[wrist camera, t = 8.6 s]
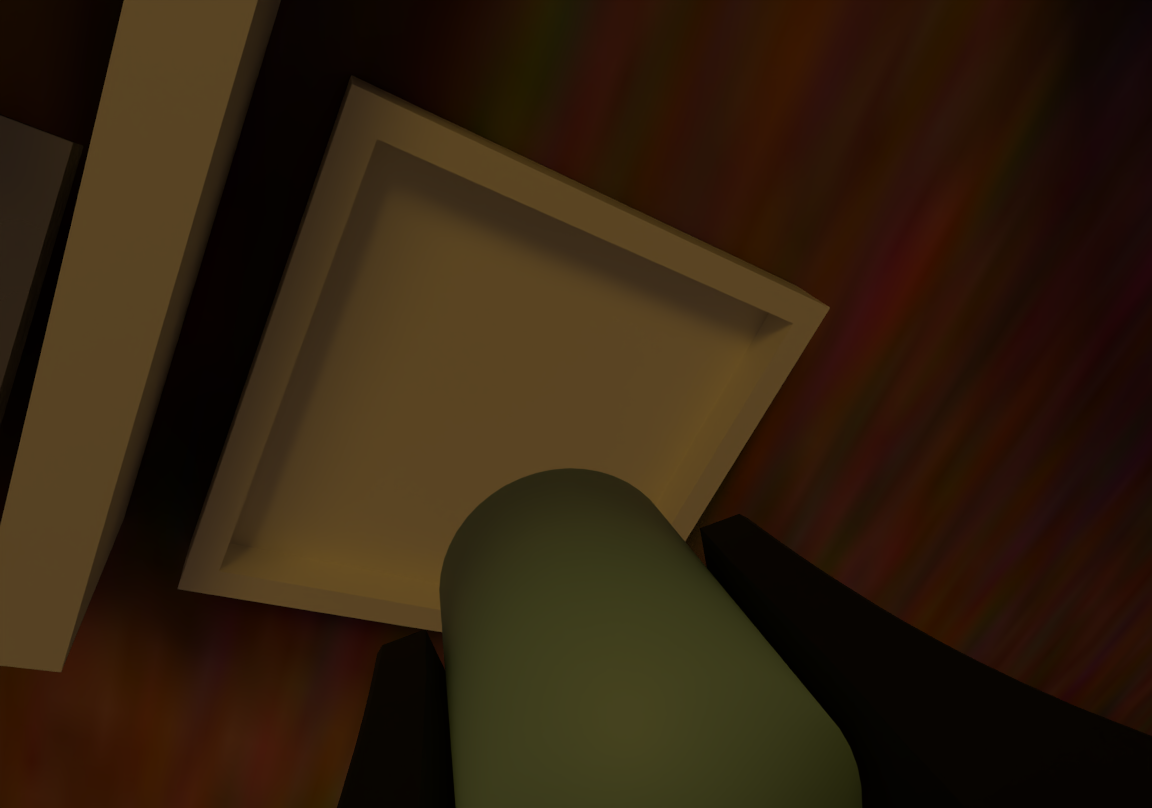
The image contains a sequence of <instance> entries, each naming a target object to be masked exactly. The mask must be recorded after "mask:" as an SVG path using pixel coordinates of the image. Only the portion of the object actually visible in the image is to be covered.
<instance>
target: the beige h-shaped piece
mask: <svg viewBox="0 0 1152 808" xmlns="http://www.w3.org/2000/svg"><path fill="white" fill-rule="evenodd" d="M280 2H281V0H124V2H123V6H122V11H121V15H120V19H119V23H118V28H117V32H116V36H115V40H114V45H113V49H112V53H111V57H110V61H109V66H108V70H107V74H106V78H105V83H104V87H103V91H102V95H101V100H100V104H99V108H98V112H97V117H96V121H95V125H94V129H93V134H92V138H91V142H90V146H89V151H88V155H87V159H86V163H85V168H84V172H83V176H82V180H81V185H80V189H79V193H78V197H77V202H76V206H75V210H74V214H73V219H72V223H71V227H70V231H69V236H68V240H67V244H66V248H65V253H64V257H63V261H62V265H61V270H60V274H59V278H58V282H57V287H56V291H55V295H54V299H53V304H52V308H51V312H50V316H49V321H48V325H47V329H46V333H45V338H44V342H43V346H42V350H41V355H40V359H39V363H38V367H37V372H36V376H35V380H34V384H33V389H32V393H31V397H30V401H29V406H28V410H27V414H26V418H25V423H24V427H23V431H22V435H21V440H20V444H19V448H18V452H17V457H16V461H15V465H14V469H13V474H12V478H11V482H10V486H9V491H8V495H7V499H6V503H5V508H4V512H3V516H2V520H1V525H0V665H1V666H10V667H19V668H28V669H37V670H46V671H54V672H61V671H62V669H63V666H64V664H65V661H66V659H67V656H68V654H69V652H70V649H71V647H72V644H73V642H74V639H75V637H76V634H77V632H78V630H79V627H80V625H81V622H82V620H83V617H84V615H85V613H86V610H87V608H88V605H89V603H90V600H91V598H92V596H93V593H94V591H95V588H96V586H97V583H98V581H99V578H100V576H101V574H102V571H103V569H104V566H105V564H106V561H107V559H108V557H109V554H110V552H111V549H112V547H113V544H114V542H115V540H116V537H117V535H118V532H119V530H120V527H121V525H122V522H123V520H124V517H125V514H126V510H127V507H128V504H129V501H130V497H131V494H132V491H133V487H134V484H135V481H136V477H137V474H138V471H139V468H140V464H141V461H142V458H143V454H144V451H145V448H146V444H147V441H148V438H149V434H150V431H151V428H152V425H153V421H154V418H155V415H156V411H157V408H158V405H159V401H160V398H161V395H162V392H163V388H164V385H165V382H166V378H167V375H168V372H169V368H170V365H171V362H172V359H173V355H174V352H175V349H176V345H177V342H178V339H179V335H180V332H181V329H182V326H183V322H184V319H185V316H186V312H187V309H188V306H189V302H190V299H191V296H192V292H193V289H194V286H195V283H196V279H197V276H198V273H199V269H200V266H201V263H202V259H203V256H204V253H205V250H206V246H207V243H208V240H209V236H210V233H211V230H212V226H213V223H214V220H215V217H216V213H217V210H218V207H219V203H220V200H221V197H222V193H223V190H224V187H225V184H226V180H227V177H228V174H229V170H230V167H231V164H232V160H233V157H234V154H235V150H236V147H237V144H238V141H239V137H240V134H241V131H242V127H243V124H244V121H245V117H246V114H247V111H248V108H249V104H250V101H251V98H252V94H253V91H254V88H255V84H256V81H257V78H258V75H259V71H260V68H261V65H262V61H263V58H264V55H265V51H266V48H267V45H268V42H269V38H270V35H271V32H272V28H273V25H274V22H275V18H276V15H277V12H278V8H279V5H280Z"/></svg>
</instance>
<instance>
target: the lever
mask: <svg viewBox="0 0 1152 808" xmlns="http://www.w3.org/2000/svg"><path fill="white" fill-rule="evenodd" d="M83 147H84V146H83V145H80V144H78V143H75V142H72V141H70V140H67V139H64V138H62V137H59V136H56V135H54V134H51V133H48V132H46V131H43V130H40V129H38V128H35V127H32V126H30V125H27V124H24V123H22V122H19V121H16V120H14V119H11V118H8V117H6V116H3V115H0V426H1V423H2V420H3V416H4V413H5V410H6V406H7V403H8V399H9V396H10V393H11V389H12V386H13V383H14V379H15V376H16V373H17V369H18V366H19V362H20V359H21V356H22V352H23V349H24V346H25V342H26V339H27V335H28V332H29V329H30V325H31V322H32V319H33V315H34V312H35V309H36V305H37V302H38V298H39V295H40V292H41V288H42V285H43V282H44V278H45V275H46V271H47V268H48V265H49V261H50V258H51V255H52V251H53V248H54V245H55V241H56V238H57V234H58V231H59V228H60V224H61V221H62V218H63V214H64V211H65V207H66V204H67V201H68V197H69V194H70V191H71V187H72V184H73V181H74V177H75V174H76V170H77V167H78V164H79V160H80V157H81V154H82V150H83Z"/></svg>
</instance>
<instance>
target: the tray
mask: <svg viewBox="0 0 1152 808" xmlns="http://www.w3.org/2000/svg"><path fill="white" fill-rule="evenodd" d="M829 309H830V307H828V306H827V305H825V304H824V303H822V302H821V301H819V300H817V299H816V298H814V297H813V296H811V295H810V294H808V293H807V292H805V291H804V290H802V289H801V288H799V287H798V286H796V285H794V284H792V283H790V282H788V281H786V280H783V279H781V278H779V277H777V276H775V275H773V274H771V273H769V272H767V271H764V270H762V269H760V268H758V267H756V266H754V265H752V264H750V263H748V262H745V261H743V260H741V259H739V258H737V257H735V256H733V255H731V254H729V253H726V252H724V251H722V250H720V249H718V248H716V247H714V246H712V245H710V244H707V243H705V242H703V241H701V240H699V239H697V238H695V237H693V236H691V235H688V234H686V233H684V232H682V231H680V230H678V229H676V228H674V227H672V226H669V225H667V224H665V223H663V222H661V221H659V220H657V219H655V218H653V217H650V216H648V215H646V214H644V213H642V212H640V211H638V210H636V209H634V208H631V207H629V206H627V205H625V204H623V203H621V202H619V201H617V200H614V199H612V198H610V197H608V196H606V195H604V194H602V193H600V192H598V191H595V190H593V189H591V188H589V187H587V186H585V185H583V184H581V183H579V182H576V181H574V180H572V179H570V178H568V177H566V176H564V175H562V174H560V173H557V172H555V171H553V170H551V169H549V168H547V167H545V166H543V165H541V164H538V163H536V162H534V161H532V160H530V159H528V158H526V157H524V156H522V155H519V154H517V153H515V152H513V151H511V150H509V149H507V148H505V147H503V146H500V145H498V144H496V143H494V142H492V141H490V140H488V139H486V138H484V137H481V136H479V135H477V134H475V133H473V132H471V131H469V130H467V129H465V128H462V127H460V126H458V125H456V124H454V123H452V122H450V121H448V120H446V119H443V118H441V117H439V116H437V115H435V114H433V113H431V112H429V111H426V110H424V109H422V108H420V107H418V106H416V105H414V104H412V103H410V102H407V101H405V100H403V99H401V98H399V97H397V96H395V95H393V94H391V93H388V92H386V91H384V90H382V89H380V88H378V87H376V86H374V85H372V84H369V83H367V82H365V81H363V80H361V79H359V78H357V77H355V76H353V75H351V76H350V79H349V82H348V85H347V88H346V91H345V94H344V97H343V100H342V103H341V106H340V108H339V111H338V114H337V117H336V120H335V123H334V126H333V129H332V132H331V135H330V138H329V140H328V143H327V146H326V149H325V152H324V155H323V158H322V161H321V164H320V167H319V170H318V172H317V175H316V178H315V181H314V184H313V187H312V190H311V193H310V196H309V199H308V202H307V204H306V207H305V210H304V213H303V216H302V219H301V222H300V225H299V228H298V231H297V234H296V236H295V239H294V242H293V245H292V248H291V251H290V254H289V257H288V260H287V263H286V265H285V268H284V271H283V274H282V277H281V280H280V283H279V286H278V289H277V292H276V295H275V297H274V300H273V303H272V306H271V309H270V312H269V315H268V318H267V321H266V324H265V327H264V329H263V332H262V335H261V338H260V341H259V344H258V347H257V350H256V353H255V356H254V359H253V361H252V364H251V367H250V370H249V373H248V376H247V379H246V382H245V385H244V388H243V391H242V393H241V396H240V399H239V402H238V405H237V408H236V411H235V414H234V417H233V420H232V423H231V425H230V428H229V431H228V434H227V437H226V440H225V443H224V446H223V449H222V452H221V455H220V457H219V460H218V463H217V466H216V469H215V472H214V475H213V478H212V481H211V484H210V486H209V489H208V492H207V495H206V498H205V501H204V504H203V507H202V510H201V513H200V516H199V518H198V521H197V524H196V527H195V530H194V533H193V536H192V539H191V542H190V545H189V548H188V552H187V556H186V559H185V563H184V567H183V570H182V574H181V578H180V581H179V585H178V589H180V590H186V591H193V592H199V593H205V594H211V595H217V596H223V597H229V598H235V599H242V600H248V601H254V602H260V603H266V604H272V605H278V606H284V607H291V608H297V609H303V610H309V611H315V612H321V613H327V614H334V615H340V616H346V617H352V618H358V619H364V620H370V621H376V622H383V623H389V624H395V625H401V626H407V627H413V628H419V629H426V630H432V631H438V632H442V622H441V609H440V594H439V587H440V575H441V570H442V566H443V561H444V558H445V555H446V553H447V550H448V548H449V545H450V543H451V541H452V539H453V538H454V536H455V534H456V532H457V530H458V529H459V528H460V526H461V525H462V523H463V522H464V521H465V519H466V518H467V517H468V516H469V515H470V514H471V512H472V511H473V510H474V509H475V508H476V507H477V506H478V505H479V504H480V503H482V502H483V501H484V500H485V499H486V498H488V497H489V496H490V495H491V494H493V493H494V492H496V491H498V490H499V489H501V488H502V487H504V486H505V485H507V484H510V483H512V482H514V481H516V480H518V479H520V478H523V477H526V476H528V475H531V474H534V473H538V472H543V471H548V470H553V469H565V468H576V469H588V470H594V471H599V472H603V473H606V474H609V475H612V476H615V477H617V478H619V479H621V480H623V481H626V482H628V483H629V484H631V485H632V486H634V487H635V488H637V489H638V490H640V491H641V492H642V493H643V494H644V495H645V496H647V497H648V498H649V499H650V500H651V501H652V502H653V504H654V505H655V506H656V507H657V508H658V510H659V511H660V512H661V513H662V514H663V516H664V517H665V518H666V519H667V520H668V522H669V523H670V524H671V525H672V526H673V528H674V529H675V530H676V531H677V532H678V534H679V535H680V536H681V537H682V539H683V540H684V541H686V539H687V538H688V536H689V534H690V533H691V531H692V529H693V528H694V526H695V525H696V523H697V521H698V520H699V518H700V517H701V515H702V513H703V512H704V510H705V509H706V507H707V505H708V504H709V502H710V500H711V499H712V497H713V496H714V494H715V492H716V491H717V489H718V488H719V486H720V484H721V483H722V481H723V480H724V478H725V476H726V475H727V473H728V471H729V470H730V468H731V467H732V465H733V463H734V462H735V460H736V459H737V457H738V455H739V454H740V452H741V450H742V449H743V447H744V446H745V444H746V442H747V441H748V439H749V438H750V436H751V434H752V433H753V431H754V430H755V428H756V426H757V425H758V423H759V421H760V420H761V418H762V417H763V415H764V413H765V412H766V410H767V409H768V407H769V405H770V404H771V402H772V400H773V399H774V397H775V396H776V394H777V392H778V391H779V389H780V388H781V386H782V384H783V383H784V381H785V380H786V378H787V376H788V375H789V373H790V371H791V370H792V368H793V367H794V365H795V363H796V362H797V360H798V359H799V357H800V355H801V354H802V352H803V351H804V349H805V347H806V346H807V344H808V342H809V341H810V339H811V338H812V336H813V334H814V333H815V331H816V330H817V328H818V326H819V325H820V323H821V321H822V320H823V318H824V317H825V315H826V313H827V312H828V310H829Z"/></svg>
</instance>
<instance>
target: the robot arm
mask: <svg viewBox="0 0 1152 808" xmlns="http://www.w3.org/2000/svg"><path fill="white" fill-rule="evenodd" d="M700 531H701V536H702V542H703V548H704V554H705V560H706V565H707V569H708V570H709V571H710V572H711V574H712V575H713V576H714V577H715V578H716V580H717V581H718V582H719V583H720V585H721V586H722V587H723V588H724V589H725V591H726V592H727V593H728V594H729V595H730V597H731V598H732V599H733V600H734V601H735V603H736V604H737V605H738V606H739V608H740V609H741V610H742V611H743V612H744V614H745V615H746V616H747V617H748V618H749V620H750V621H751V622H752V623H753V624H754V626H755V627H756V628H757V629H758V630H759V632H760V633H761V634H762V635H763V637H764V638H765V639H766V640H767V641H768V643H769V644H770V645H771V646H772V647H773V649H774V650H775V651H776V652H777V653H778V655H779V656H780V657H781V658H782V660H783V661H784V662H785V663H786V664H787V666H788V667H789V668H790V669H791V670H792V672H793V673H794V674H795V675H796V676H797V678H798V679H799V680H800V681H801V683H802V684H803V685H804V686H805V687H806V689H807V690H808V691H809V692H810V693H811V695H812V696H813V697H814V698H815V699H816V701H817V702H818V703H819V704H820V706H821V707H822V708H823V709H824V710H825V712H826V713H827V714H828V715H829V716H830V718H831V719H832V720H833V721H834V722H835V724H836V725H837V726H838V727H839V728H840V730H841V732H842V734H843V735H844V737H845V739H846V740H847V742H848V744H849V746H850V748H851V750H852V753H853V756H854V758H855V761H856V764H857V767H858V772H859V777H860V782H861V789H862V808H1152V736H1150V735H1147V734H1145V733H1142V732H1139V731H1137V730H1134V729H1132V728H1129V727H1127V726H1124V725H1122V724H1119V723H1117V722H1114V721H1112V720H1109V719H1107V718H1104V717H1101V716H1099V715H1096V714H1094V713H1091V712H1089V711H1086V710H1084V709H1081V708H1079V707H1076V706H1074V705H1071V704H1069V703H1067V702H1065V701H1062V700H1060V699H1058V698H1056V697H1053V696H1051V695H1049V694H1047V693H1044V692H1042V691H1040V690H1038V689H1036V688H1033V687H1031V686H1029V685H1027V684H1024V683H1022V682H1020V681H1018V680H1016V679H1014V678H1012V677H1010V676H1007V675H1005V674H1003V673H1001V672H999V671H997V670H995V669H993V668H991V667H989V666H987V665H985V664H983V663H981V662H979V661H977V660H975V659H973V658H971V657H969V656H967V655H965V654H963V653H961V652H959V651H957V650H955V649H953V648H951V647H950V646H948V645H946V644H944V643H942V642H940V641H938V640H936V639H935V638H933V637H931V636H929V635H928V634H926V633H924V632H922V631H920V630H919V629H917V628H915V627H913V626H911V625H910V624H908V623H906V622H904V621H903V620H901V619H899V618H897V617H896V616H894V615H892V614H891V613H889V612H887V611H886V610H884V609H882V608H880V607H879V606H877V605H875V604H874V603H872V602H871V601H869V600H867V599H866V598H864V597H863V596H861V595H860V594H858V593H856V592H855V591H853V590H852V589H850V588H848V587H847V586H845V585H844V584H842V583H840V582H839V581H837V580H836V579H834V578H832V577H831V576H829V575H828V574H826V573H825V572H823V571H822V570H820V569H819V568H817V567H816V566H814V565H813V564H811V563H810V562H808V561H807V560H806V559H804V558H803V557H801V556H800V555H798V554H797V553H795V552H794V551H792V550H791V549H790V548H788V547H787V546H785V545H784V544H782V543H781V542H780V541H778V540H777V539H775V538H774V537H773V536H771V535H770V534H768V533H767V532H766V531H764V530H763V529H761V528H760V527H759V526H757V525H756V524H755V523H753V522H752V521H751V520H749V519H748V518H746V517H744V516H742V515H740V514H738V515H735V516H732V517H730V518H727V519H724V520H722V521H719V522H716V523H713V524H711V525H708V526H705V527H703V528H700ZM337 808H456V806H455V793H454V780H453V766H452V753H451V740H450V727H449V714H448V701H447V688H446V674H445V669H444V667H443V665H442V663H441V661H440V659H439V657H438V655H437V653H436V650H435V648H434V646H433V644H432V642H431V640H430V638H429V636H428V634H427V632H426V629H425V630H423V631H420V632H417V633H415V634H412V635H409V636H406V637H404V638H401V639H398V640H396V641H393V642H390V643H387V644H385V645H382V647H381V649H380V650H379V652H378V654H377V658H376V663H375V668H374V673H373V678H372V682H371V687H370V691H369V696H368V700H367V704H366V708H365V712H364V716H363V720H362V724H361V727H360V731H359V735H358V739H357V743H356V746H355V750H354V753H353V756H352V760H351V763H350V766H349V770H348V773H347V776H346V780H345V783H344V787H343V790H342V793H341V797H340V800H339V803H338V806H337Z"/></svg>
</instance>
